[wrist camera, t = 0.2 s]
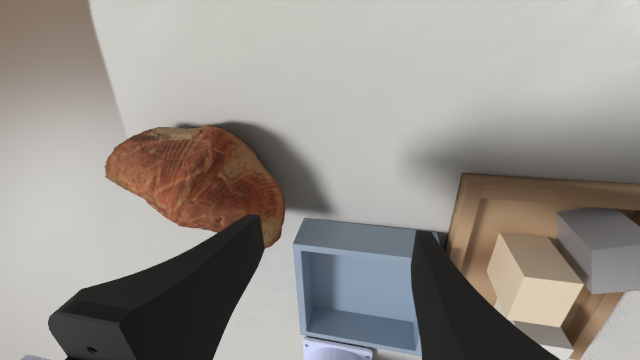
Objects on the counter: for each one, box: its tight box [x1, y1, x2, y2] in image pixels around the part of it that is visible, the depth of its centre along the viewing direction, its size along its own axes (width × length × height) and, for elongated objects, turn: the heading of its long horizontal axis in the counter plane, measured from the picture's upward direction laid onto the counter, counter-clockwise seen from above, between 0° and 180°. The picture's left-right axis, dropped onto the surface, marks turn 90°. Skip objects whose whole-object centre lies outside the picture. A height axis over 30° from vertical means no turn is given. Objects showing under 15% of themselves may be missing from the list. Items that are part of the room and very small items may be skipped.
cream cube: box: [487, 232, 584, 327], centre depth 20 cm, size 4×3×4 cm
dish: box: [293, 218, 440, 356], centre depth 25 cm, size 11×11×4 cm
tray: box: [444, 173, 640, 360], centre depth 22 cm, size 16×12×2 cm
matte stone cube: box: [556, 207, 640, 294], centre depth 18 cm, size 4×3×4 cm
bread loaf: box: [105, 125, 285, 248], centre depth 22 cm, size 13×8×10 cm
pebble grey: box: [494, 298, 574, 360], centre depth 23 cm, size 4×3×4 cm
